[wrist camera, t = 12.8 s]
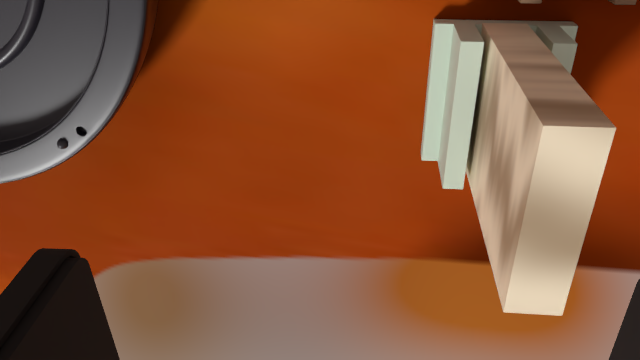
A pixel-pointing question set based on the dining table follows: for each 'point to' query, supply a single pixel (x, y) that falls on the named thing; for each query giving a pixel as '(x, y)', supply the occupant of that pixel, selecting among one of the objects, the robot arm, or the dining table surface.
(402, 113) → the dining table surface
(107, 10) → the round tray
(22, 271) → the robot arm
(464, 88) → the slotted stand
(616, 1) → the rack
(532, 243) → the birch board
